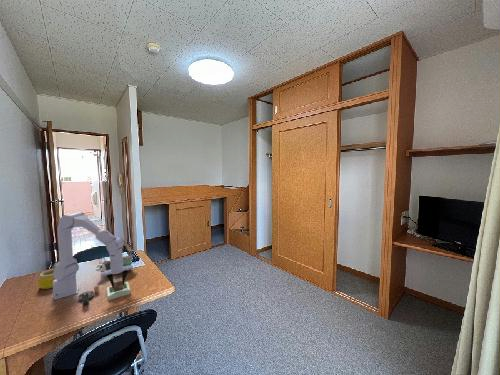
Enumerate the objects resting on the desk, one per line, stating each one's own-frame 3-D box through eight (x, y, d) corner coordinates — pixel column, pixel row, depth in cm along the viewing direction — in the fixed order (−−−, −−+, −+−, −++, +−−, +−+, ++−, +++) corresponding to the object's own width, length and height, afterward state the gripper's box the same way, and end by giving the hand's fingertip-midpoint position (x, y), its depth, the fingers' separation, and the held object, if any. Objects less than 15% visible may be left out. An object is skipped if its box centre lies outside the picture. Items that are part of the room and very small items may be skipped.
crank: (78, 296, 112) (78, 287, 112) (93, 292, 116) (93, 283, 115) (77, 307, 103) (76, 297, 102) (93, 302, 107) (93, 293, 106)
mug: (35, 287, 121) (33, 267, 120) (59, 278, 131) (57, 259, 130) (45, 293, 115) (43, 272, 114) (70, 283, 125) (68, 263, 124)
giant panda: (111, 268, 143) (110, 255, 142) (119, 269, 143) (118, 255, 142) (93, 280, 129) (91, 265, 128) (101, 280, 128) (100, 265, 127)
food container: (116, 278, 131) (114, 262, 130) (111, 275, 135) (110, 259, 134) (136, 270, 141) (135, 255, 140) (132, 267, 145) (131, 253, 144)
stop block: (114, 292, 113) (113, 283, 112) (113, 288, 116) (113, 279, 116) (123, 289, 115) (122, 280, 115) (122, 286, 118) (121, 277, 118)
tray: (108, 300, 109) (107, 296, 108) (107, 291, 117) (106, 287, 116) (130, 293, 114) (130, 289, 114) (128, 285, 122) (127, 281, 122)
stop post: (94, 294, 115) (93, 287, 114) (94, 292, 116) (94, 286, 116) (99, 292, 116) (98, 286, 115) (99, 291, 117) (98, 284, 117)
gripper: (100, 267, 106) (102, 294, 108) (133, 260, 115) (134, 284, 116) (99, 262, 112) (101, 287, 113) (131, 256, 121) (132, 279, 122)
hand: (118, 285), depth 115 cm, fingers closed on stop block, 4 cm apart
